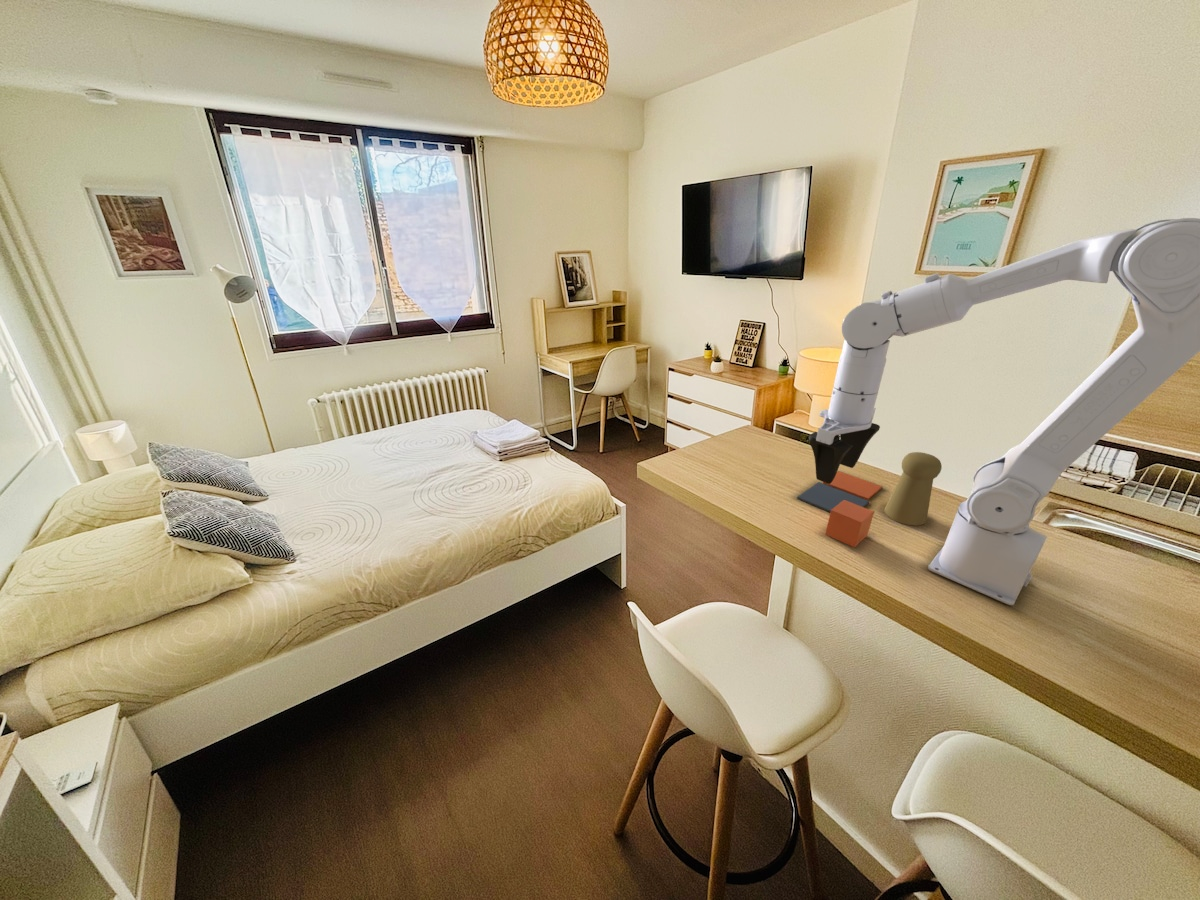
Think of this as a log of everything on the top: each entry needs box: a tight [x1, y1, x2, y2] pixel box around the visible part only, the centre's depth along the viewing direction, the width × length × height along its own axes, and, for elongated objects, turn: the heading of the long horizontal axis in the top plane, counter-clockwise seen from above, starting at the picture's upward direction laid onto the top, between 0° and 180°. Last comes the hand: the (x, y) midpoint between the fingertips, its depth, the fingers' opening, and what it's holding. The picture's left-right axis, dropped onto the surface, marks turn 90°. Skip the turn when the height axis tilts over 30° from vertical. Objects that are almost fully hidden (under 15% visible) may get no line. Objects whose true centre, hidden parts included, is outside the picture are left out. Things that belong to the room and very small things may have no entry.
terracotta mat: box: [822, 470, 883, 501], centre depth 86 cm, size 8×6×1 cm
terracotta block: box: [824, 500, 875, 548], centre depth 71 cm, size 4×4×4 cm
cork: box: [883, 451, 943, 527], centre depth 75 cm, size 6×6×11 cm
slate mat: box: [796, 481, 870, 513], centre depth 81 cm, size 9×8×1 cm
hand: (835, 472), depth 72 cm, fingers open, 7 cm apart
